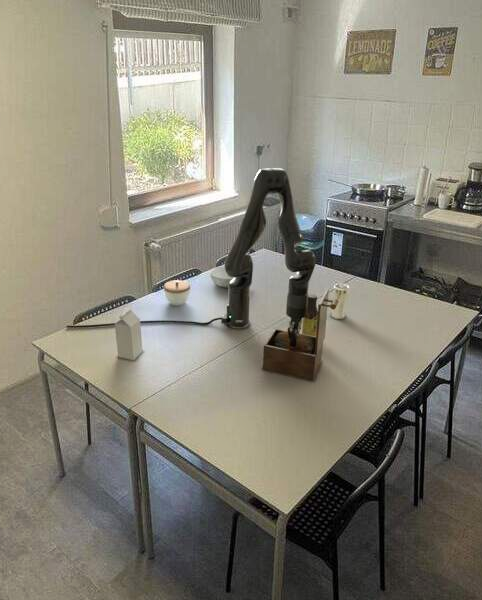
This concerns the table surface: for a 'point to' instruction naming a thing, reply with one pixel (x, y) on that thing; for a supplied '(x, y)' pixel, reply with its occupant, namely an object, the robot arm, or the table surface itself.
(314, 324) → the sauce bottle
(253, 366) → the table surface
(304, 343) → the tin
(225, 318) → the robot arm
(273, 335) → the chest
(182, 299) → the lidded bowl
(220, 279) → the cereal bowl
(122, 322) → the milk carton
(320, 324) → the lid
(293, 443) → the table surface
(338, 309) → the milkshake glass
